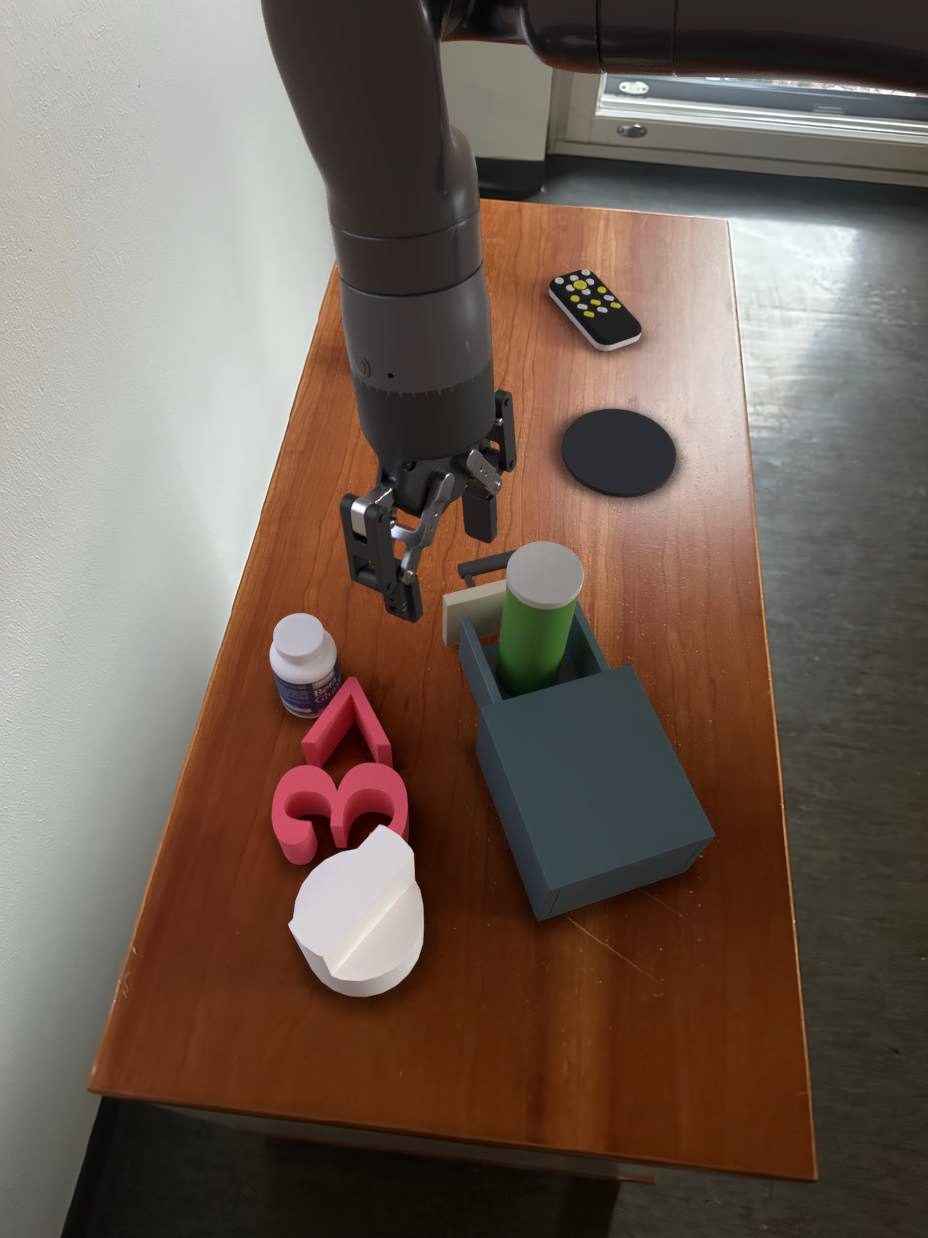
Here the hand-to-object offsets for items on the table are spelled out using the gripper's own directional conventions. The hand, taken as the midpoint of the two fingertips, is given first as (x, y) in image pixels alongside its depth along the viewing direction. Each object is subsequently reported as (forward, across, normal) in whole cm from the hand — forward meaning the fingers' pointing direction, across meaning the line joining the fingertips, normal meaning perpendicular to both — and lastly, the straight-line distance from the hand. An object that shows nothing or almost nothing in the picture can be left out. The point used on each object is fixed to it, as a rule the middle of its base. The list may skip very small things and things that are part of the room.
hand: (445, 574), depth 58 cm
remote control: (+13, +56, +19) cm, 60 cm away
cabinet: (+24, +2, -9) cm, 26 cm away
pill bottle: (+20, -2, +15) cm, 25 cm away
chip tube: (+19, +10, 0) cm, 22 cm away
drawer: (+20, +11, +1) cm, 23 cm away
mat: (+17, +38, +6) cm, 42 cm away
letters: (+22, -6, +8) cm, 24 cm away
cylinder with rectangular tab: (+24, -15, 0) cm, 29 cm away
